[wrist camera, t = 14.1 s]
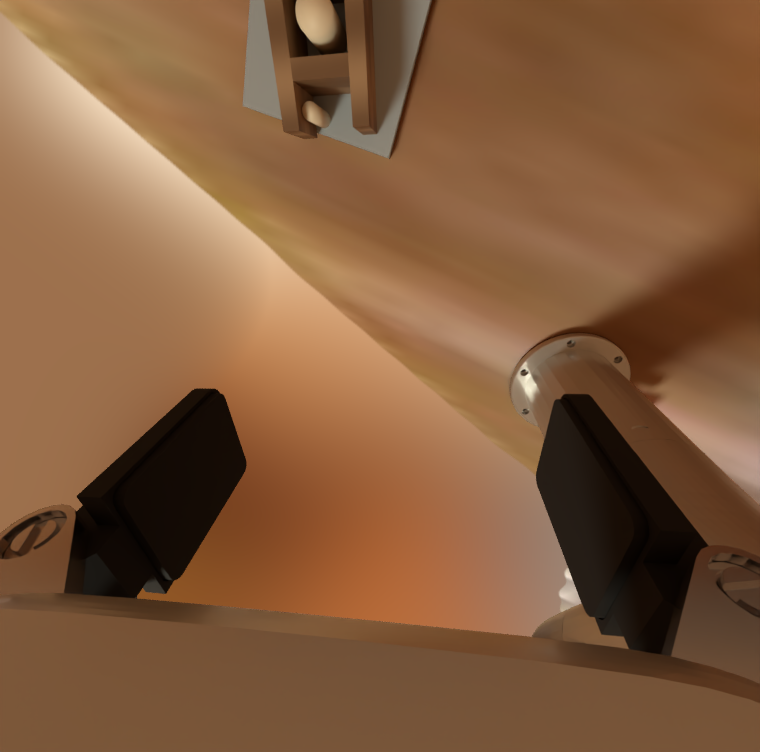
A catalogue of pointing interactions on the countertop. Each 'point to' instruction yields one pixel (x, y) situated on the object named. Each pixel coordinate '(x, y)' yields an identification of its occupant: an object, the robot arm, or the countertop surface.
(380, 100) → the base
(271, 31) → the wooden h-shaped stand
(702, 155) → the countertop surface
